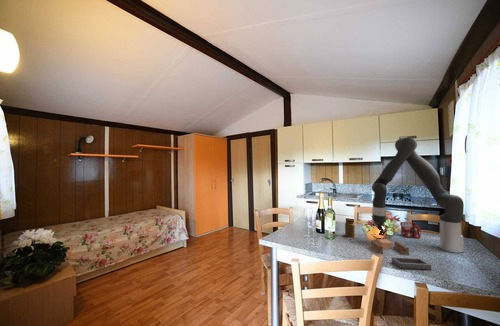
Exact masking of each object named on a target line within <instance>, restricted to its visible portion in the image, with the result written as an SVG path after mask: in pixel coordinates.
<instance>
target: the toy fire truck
mask: <svg viewBox="0 0 500 326" xmlns="http://www.w3.org/2000/svg"><path fill="white" fill-rule="evenodd" d="M399 223H400V233H401V235H403V236H405V237H406V238H407V239H411V238H412V237H413V238H414V239H416V240H417V239H421V235H422V230H421V228H420V227H419V226H420V225H417V223H416V222H415V221H413V222H411V221H410V222H409V221H400V222H399Z"/></svg>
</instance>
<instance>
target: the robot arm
mask: <svg viewBox="0 0 500 326" xmlns="http://www.w3.org/2000/svg"><path fill="white" fill-rule="evenodd" d="M394 147H395V150H396V151H397V153H395V155H394V156H393V158H392V159H391V160H390V161H389V162H388V163H387V164H386V165H385V166H384V168H383V170H381V171H382V172H381V173H379V176H378V177H377V178H376V180H375V181H373V184H372V186H371V190H372V192H373V199H372V210H371V213H372V216H371V217H372V221H373V222H374V223H372V227H373V226H376V227H377V228H378V229H379V230H381V231H380V233H379V235H382V236H385V234H386V232H387V230H388V229H387V228H385V223H387V208H386V207H387V206H386V205H387V202H386V200H387V196H388V194H387V193H388V189H387V185H388V184H389V183H391V182H392V181H393V179H394V178H395V176H396V174H397V172H399V170H400V168H401V167H402V165H403V164H404V163H405V161H406V162H407V163H408V165H409V166H410V167H411V169H412V170H413V172H414V173H415V174H416V176H417V177H418V178H419V180H420V181H421V182H422V183H423V185H424V186H425V187H426V189H428V191H429V193H430V195H431V196H432V198H433V199H434V201H435V203H436V204H437V205H438V206H439V207H440V208H442V209H444V213H443V214H441V215H439V247H440V249H441V250H443V251H445V252H450V253H456V254H457V253H458V254H460V253H463V252H464V235H462V220H463V218H464V211H465V210H464V209H465V208H464V207H465V206H464V204H465V203H464V200H463V198H462V197H460V196H458V195H455V194H451V193H450V194H449V193H448V192H447V191H446V190H445V188H444V187H443V186H442V184H441V178H440V174H439V172H437V170H436V169H435V168H434V166H433V165H432V164H431V163H430V162H428V161H427V160H426V159H425V158H423V157H422V156H421V155H419V154H418V153H417V151H416V149H417V147H418V142H417V140H416V139H415V138H414V137H402V138H399V139H397V140H396V141H395V143H394ZM382 233H383V234H382ZM377 239H381V238H377V237H376V240H377Z"/></svg>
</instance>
